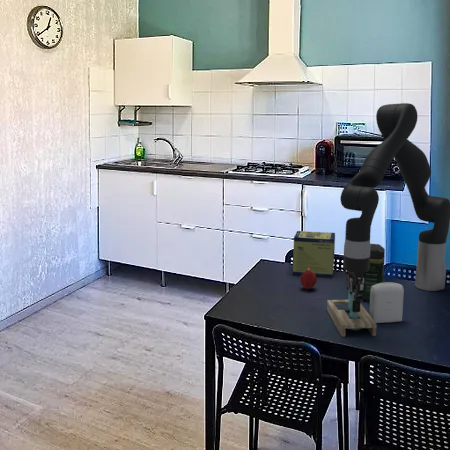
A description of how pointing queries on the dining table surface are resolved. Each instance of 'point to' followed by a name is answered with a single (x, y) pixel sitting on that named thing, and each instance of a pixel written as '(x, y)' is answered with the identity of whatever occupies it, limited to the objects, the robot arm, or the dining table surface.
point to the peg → (352, 314)
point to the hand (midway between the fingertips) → (354, 308)
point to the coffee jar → (374, 269)
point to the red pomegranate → (308, 279)
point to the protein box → (314, 253)
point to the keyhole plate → (345, 322)
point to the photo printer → (386, 302)
